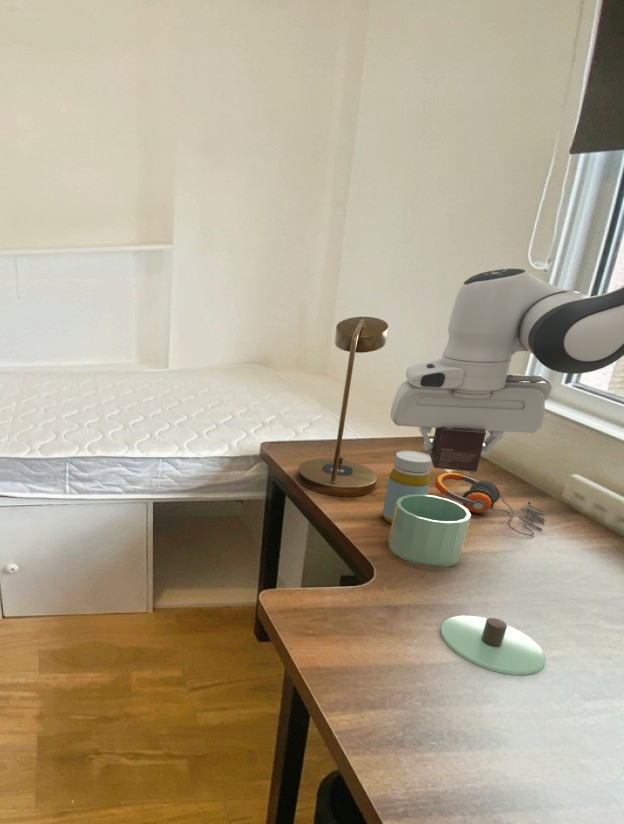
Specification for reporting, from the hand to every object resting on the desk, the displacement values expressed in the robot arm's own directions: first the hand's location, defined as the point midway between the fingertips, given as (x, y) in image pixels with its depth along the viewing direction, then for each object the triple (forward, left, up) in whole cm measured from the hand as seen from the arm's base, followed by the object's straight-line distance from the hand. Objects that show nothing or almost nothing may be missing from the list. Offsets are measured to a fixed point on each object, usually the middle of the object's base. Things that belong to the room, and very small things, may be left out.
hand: (454, 451), depth 95 cm
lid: (-4, +22, -22) cm, 32 cm away
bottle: (+2, -17, -23) cm, 29 cm away
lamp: (+13, -38, -23) cm, 47 cm away
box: (0, 0, -3) cm, 3 cm away
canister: (0, -5, -23) cm, 23 cm away
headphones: (-15, -27, -23) cm, 38 cm away
